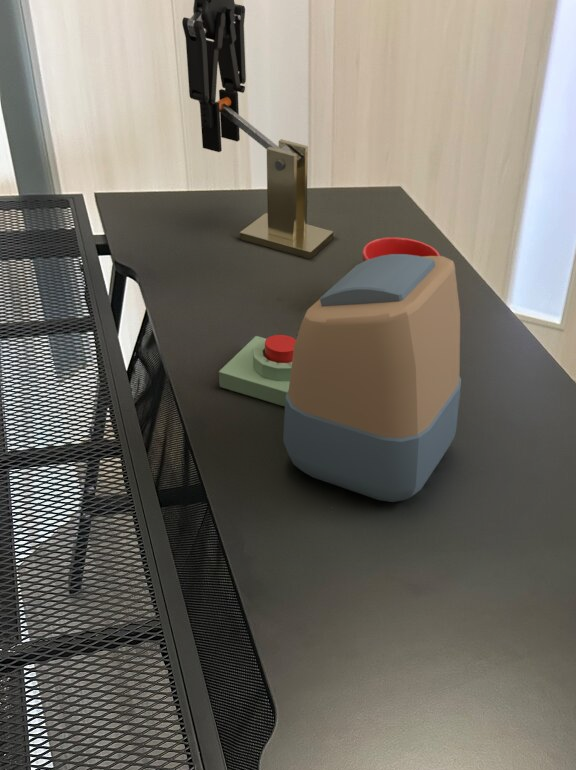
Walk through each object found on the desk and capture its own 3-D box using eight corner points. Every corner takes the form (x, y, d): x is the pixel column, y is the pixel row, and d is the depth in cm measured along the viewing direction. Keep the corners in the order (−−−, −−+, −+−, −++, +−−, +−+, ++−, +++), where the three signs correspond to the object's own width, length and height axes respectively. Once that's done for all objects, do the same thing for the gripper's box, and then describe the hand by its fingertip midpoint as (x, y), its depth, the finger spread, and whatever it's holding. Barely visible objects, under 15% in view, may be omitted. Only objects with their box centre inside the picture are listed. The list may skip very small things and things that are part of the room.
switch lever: (205, 114, 125) (210, 99, 123) (221, 105, 128) (227, 91, 126) (284, 178, 127) (291, 164, 126) (299, 168, 131) (305, 154, 129)
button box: (219, 387, 105) (217, 358, 102) (256, 350, 112) (255, 322, 109) (309, 414, 104) (309, 385, 101) (340, 375, 111) (342, 348, 108)
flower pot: (343, 309, 123) (347, 242, 116) (405, 295, 129) (412, 231, 122) (384, 344, 118) (390, 276, 111) (447, 328, 123) (456, 263, 116)
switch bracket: (240, 239, 134) (236, 145, 124) (265, 220, 140) (264, 129, 130) (310, 259, 133) (312, 166, 123) (333, 238, 139) (336, 148, 129)
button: (259, 358, 104) (259, 345, 103) (273, 344, 107) (273, 331, 106) (289, 367, 104) (289, 354, 103) (303, 352, 107) (303, 340, 105)
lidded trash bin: (336, 403, 106) (345, 215, 90) (461, 444, 104) (493, 259, 87) (271, 476, 95) (267, 275, 78) (410, 524, 92) (436, 327, 76)
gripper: (203, -29, 106) (214, 168, 123) (268, -47, 119) (270, 133, 135) (149, -42, 107) (167, 155, 124) (219, -59, 120) (227, 122, 136)
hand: (221, 143), depth 129 cm, fingers closed on switch lever, 5 cm apart
